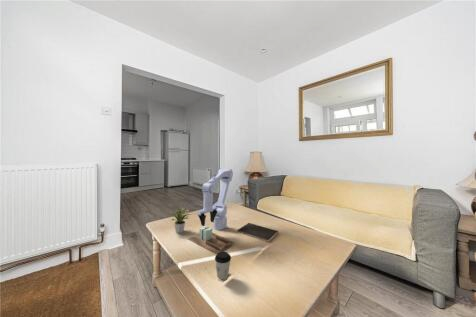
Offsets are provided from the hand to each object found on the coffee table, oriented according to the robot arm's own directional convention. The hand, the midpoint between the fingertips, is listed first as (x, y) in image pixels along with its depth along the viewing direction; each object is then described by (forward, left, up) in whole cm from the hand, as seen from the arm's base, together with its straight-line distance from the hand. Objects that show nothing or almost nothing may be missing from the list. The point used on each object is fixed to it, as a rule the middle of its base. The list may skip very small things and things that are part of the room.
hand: (207, 223), depth 107 cm
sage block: (+2, +1, -8) cm, 9 cm away
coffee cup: (+19, +31, -10) cm, 38 cm away
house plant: (+7, -21, -10) cm, 24 cm away
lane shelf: (+2, +6, -9) cm, 11 cm away
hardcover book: (-28, +20, -10) cm, 36 cm away
